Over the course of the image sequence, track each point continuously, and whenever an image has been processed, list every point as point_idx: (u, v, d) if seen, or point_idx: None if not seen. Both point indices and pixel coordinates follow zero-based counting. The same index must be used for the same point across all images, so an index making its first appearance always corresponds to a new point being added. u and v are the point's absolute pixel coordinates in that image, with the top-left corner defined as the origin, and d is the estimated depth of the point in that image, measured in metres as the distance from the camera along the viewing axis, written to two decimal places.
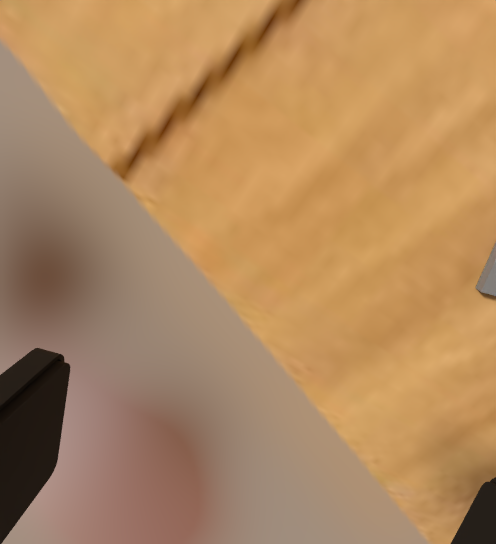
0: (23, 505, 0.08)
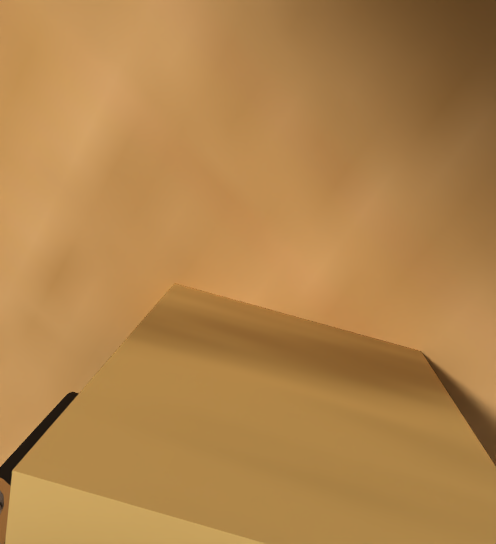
0: None
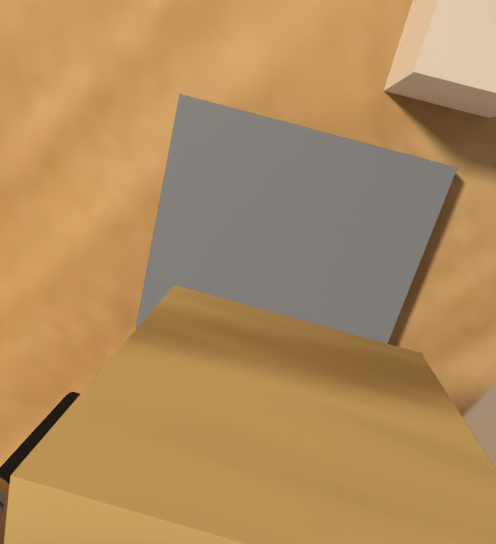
0: None
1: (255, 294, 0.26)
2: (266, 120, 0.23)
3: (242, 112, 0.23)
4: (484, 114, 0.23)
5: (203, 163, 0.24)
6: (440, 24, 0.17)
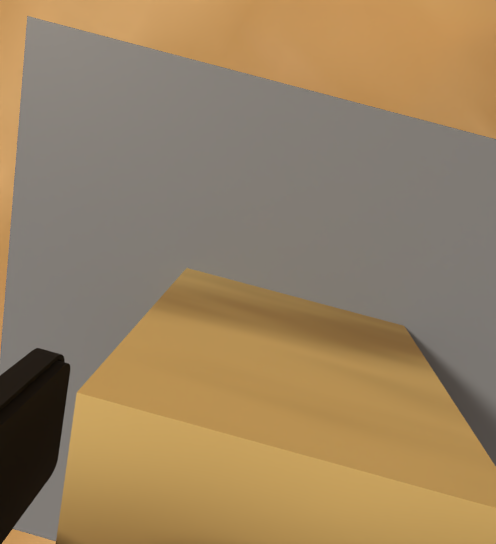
0: (23, 505, 0.08)
1: None
2: (232, 79, 0.10)
3: (176, 59, 0.10)
4: None
5: (95, 180, 0.11)
6: None
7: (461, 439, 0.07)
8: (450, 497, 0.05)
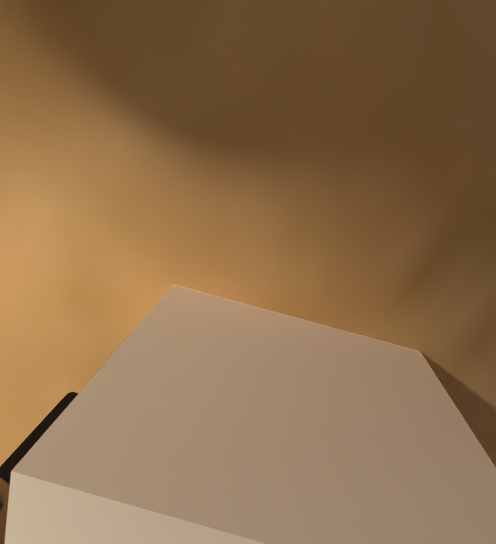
0: None
1: None
2: None
3: None
4: None
5: None
6: None
7: None
8: None
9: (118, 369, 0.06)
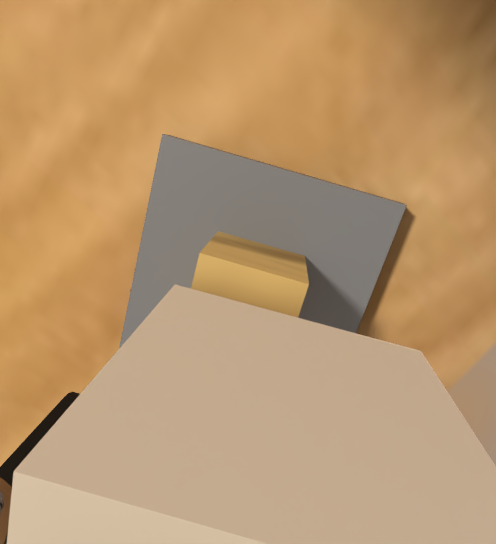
0: None
1: None
2: (238, 159, 0.26)
3: (217, 151, 0.26)
4: None
5: (183, 195, 0.27)
6: None
7: (302, 275, 0.23)
8: (290, 279, 0.22)
9: (120, 369, 0.06)
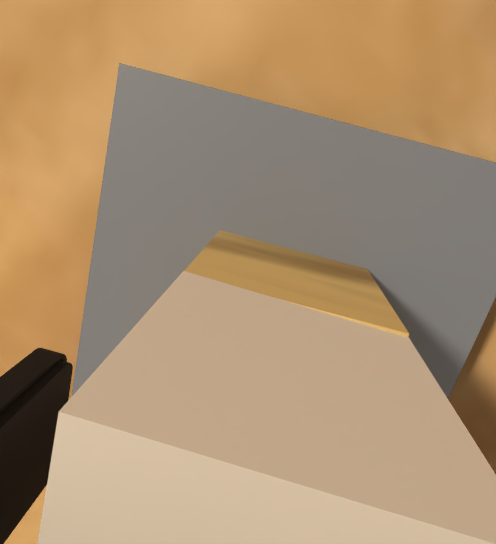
0: (26, 504, 0.08)
1: None
2: (252, 104, 0.15)
3: (216, 91, 0.15)
4: None
5: (159, 170, 0.16)
6: None
7: (385, 310, 0.12)
8: (370, 325, 0.11)
9: (139, 339, 0.07)
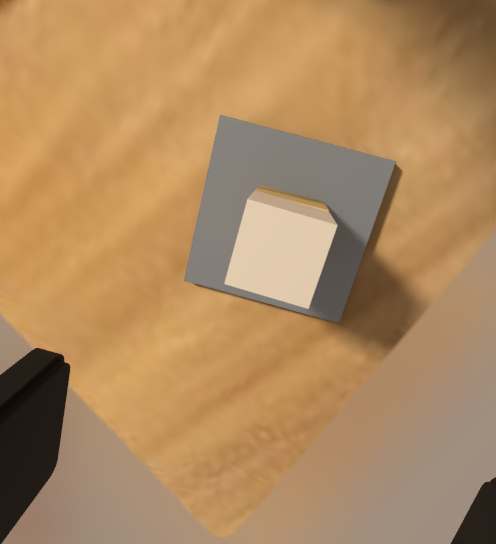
0: (23, 505, 0.08)
1: None
2: (275, 131, 0.37)
3: (260, 126, 0.37)
4: None
5: (234, 159, 0.38)
6: (237, 259, 0.28)
7: (323, 207, 0.33)
8: None
9: (253, 196, 0.28)
